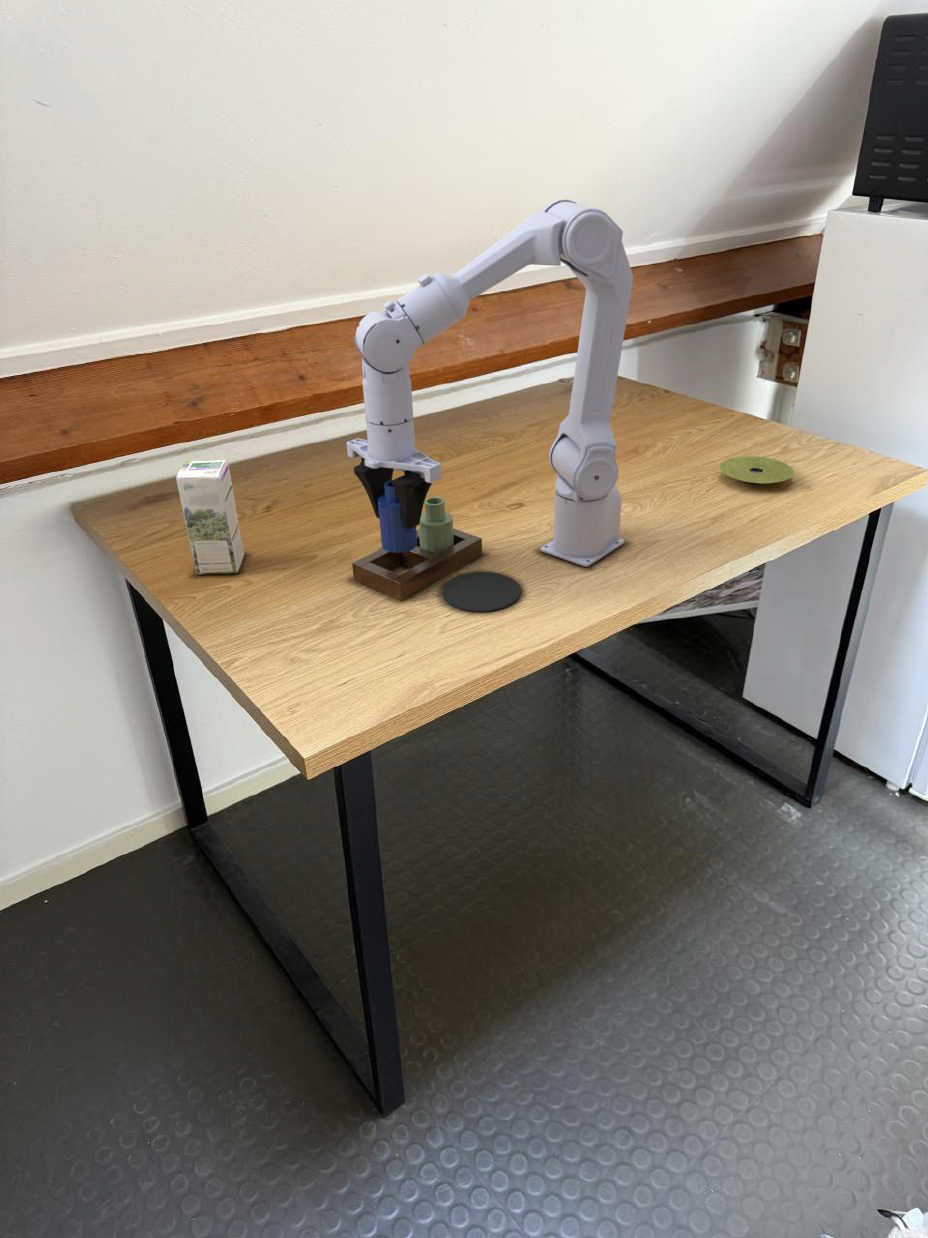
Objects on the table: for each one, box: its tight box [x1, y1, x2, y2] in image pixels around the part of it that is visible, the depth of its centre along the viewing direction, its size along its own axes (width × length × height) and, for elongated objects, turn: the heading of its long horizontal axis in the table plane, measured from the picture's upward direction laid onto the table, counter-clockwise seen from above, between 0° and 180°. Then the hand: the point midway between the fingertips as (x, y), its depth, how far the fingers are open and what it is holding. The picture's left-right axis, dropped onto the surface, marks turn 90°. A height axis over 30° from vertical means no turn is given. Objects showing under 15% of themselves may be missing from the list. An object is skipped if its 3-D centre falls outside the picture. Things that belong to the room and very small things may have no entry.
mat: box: [719, 455, 795, 484], centre depth 144 cm, size 11×11×2 cm
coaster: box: [442, 571, 522, 613], centre depth 116 cm, size 10×10×1 cm
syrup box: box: [175, 459, 245, 576], centre depth 121 cm, size 6×6×14 cm
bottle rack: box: [351, 527, 483, 601], centre depth 122 cm, size 9×16×3 cm, turn 139°
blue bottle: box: [378, 479, 417, 553], centre depth 116 cm, size 5×5×8 cm
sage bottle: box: [418, 496, 454, 554], centre depth 123 cm, size 5×5×8 cm
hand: (397, 520), depth 116 cm, fingers closed on blue bottle, 4 cm apart
